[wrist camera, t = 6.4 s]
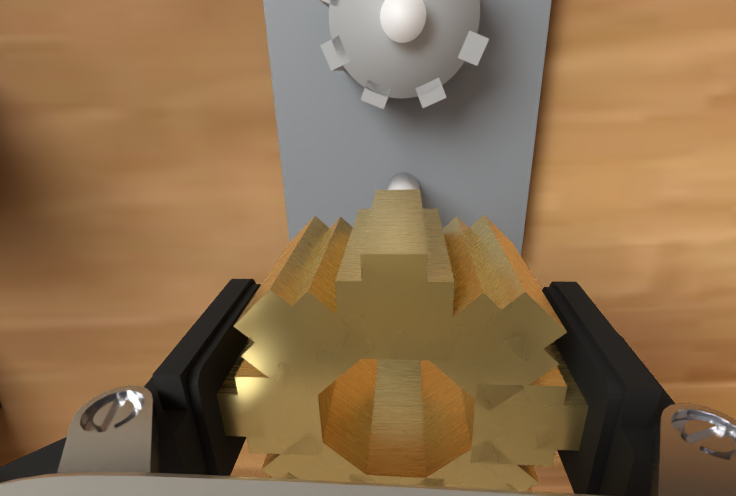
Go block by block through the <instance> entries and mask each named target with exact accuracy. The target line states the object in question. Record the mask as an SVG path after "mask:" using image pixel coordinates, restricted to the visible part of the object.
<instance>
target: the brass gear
mask: <svg viewBox="0 0 736 496" xmlns="http://www.w3.org/2000/svg"><path fill="white" fill-rule="evenodd" d="M234 327H235V328H236V329H238V330H239V331H240V332H242V333H243V334H244V335H246V336H247V337H248V338H249V340H248V341H247V343H246V345H245V347H244V348H243V350H242V352H241V353H240V355H239V357H238V359H237V360H236V362H235V364H234V366H233V367H232V369H231V371H230V372H229V374H228V376H227V378H226V379H225V381H224V383H223V385H222V386H221V388H220V390H219V391H218V393H217V398H218V402H219V407H220V411H221V416H222V421H223V425H224V430H225V434H226V436H240V437H246V438H247V443H248V448H249V453H267V456H266V459H265V461H264V464H263V467H262V470H263V471H264V472H266V473H267V474H269V478H285V479H307V480H327V481H347V482H367V483H387V484H407V485H426V486H445V487H464V488H482V489H500V490H517V491H532V489H531V487H533V486H534V485H536V484H538V483H539V482H538V479H537V476H536V473H535V470H534V467H533V465H534V466H552V465H553V459H554V454H555V450H575V451H579V448H580V443H581V439H582V434H583V430H584V425H585V420H586V416H587V411H588V405H587V403H586V401H585V399H584V397H583V395H582V394H581V392H580V390H579V388H578V386H577V384H576V382H575V381H574V379H573V377H572V375H571V373H570V371H569V369H568V368H567V366H566V364H565V362H564V360H563V358H562V356H561V355H560V353H559V351H558V349H557V347H556V345H555V343H554V341H555V340H557V339H558V338H560V337H561V336H563V335H564V334H565V333H567V331H566V329H565V328H564V326H563V325H562V323H561V321H560V320H559V318H558V316H557V315H556V313H555V311H554V310H553V308H552V306H551V305H550V303H549V302H548V300H547V298H546V297H545V295H544V293H543V292H542V290H541V288H540V287H539V285H538V284H537V282H536V280H535V279H534V277H533V275H532V274H531V272H530V270H529V269H528V267H527V266H526V264H525V262H524V261H523V259H522V257H521V256H520V254H519V252H518V251H517V249H516V247H515V246H514V244H513V243H512V242H511V241H510V240H509V239H508V238H507V237H506V236H505V235H504V234H503V233H502V232H501V231H500V230H499V229H498V228H497V227H496V226H495V225H494V224H493V223H492V222H491V221H490V220H489V219H488V218H487V217H486V216H485V215H483V216H482V217H481V218H480V219H478V220H477V221H476V222H475V223H474V224H473V225H472V226H470V227H468V226H467V225H466V224H465V223H464V222H463V221H462V220H461V219H460V218H459V217H458V216H456V217H455V218H454V219H453V220H452V221H451V222H450V223H449V224H447V225H446V226H445V227H444V228H443V229H442V225H441V220H440V216H439V211H438V208H434V209H422V201H421V192H420V189H406V190H376V192H375V196H374V200H373V204H372V208H371V209H359V210H358V214H357V217H356V220H355V223H354V226H353V227H352V226H351V225H350V224H348V223H347V222H346V221H345V220H344V219H343V218H342V217H340V218H339V219H338V220H337V221H336V222H335V223H334V224H333V225H332V226H331V227H330V228H329V227H328V226H326V225H325V224H324V223H323V222H322V221H321V220H320V219H319V218H317V217H316V216H314V217H313V218H312V219H311V220H310V221H309V222H308V223H307V225H306V226H305V227H304V228H303V229H302V230H301V231H300V232H299V233H298V234H297V235H296V236H295V237H294V238H293V239H292V240H291V241H290V243H289V244H288V245H287V247H286V248H285V250H284V251H283V253H282V254H281V256H280V257H279V259H278V260H277V262H276V263H275V265H274V266H273V268H272V269H271V271H270V272H269V274H268V275H267V277H266V278H265V280H264V281H263V283H262V284H261V286H260V287H259V289H258V290H257V292H256V293H255V295H254V296H253V298H252V299H251V301H250V302H249V304H248V305H247V307H246V308H245V310H244V311H243V313H242V314H241V316H240V317H239V319H238V320H237V322H236V323H235V325H234Z"/></svg>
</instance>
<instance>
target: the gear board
mask: <svg viewBox="0 0 736 496" xmlns="http://www.w3.org/2000/svg"><path fill="white" fill-rule="evenodd" d="M551 1H552V0H263V3H264V12H265V21H266V31H267V40H268V49H269V58H270V67H271V76H272V85H273V94H274V103H275V112H276V121H277V130H278V140H279V149H280V158H281V167H282V176H283V185H284V194H285V203H286V212H287V221H288V230H289V239H290V241H291V240H292V239H293V238H294V237H295V236H296V235H297V234H298V233H299V232H300V231H301V230H302V229H303V228H304V227H305V226H306V225H307V223H308V222H309V221H310V220H311V219H312V218H313V217H314V216H316V217H317V218H319V219H320V220H321V221H322V222H323V223H324V224H325V225H326V226H328V227H329V228H330V227H331V226H332V225H333V224H334V223H335V222H336V221H337V220H338V219H339V218H340V217H342V218H343V219H344V220H345V221H346V222H347V223H348V224H350V225H351V226H352V227H353V226H354V223H355V220H356V217H357V214H358V210H359V209H371V208H372V204H373V200H374V196H375V192H376V190H406V189H420V192H421V201H422V209H434V208H438V211H439V216H440V220H441V225H442V229H443V228H444V227H445V226H446V225H447V224H449V223H450V222H451V221H452V220H453V219H454V218H455V217H456V216H458V217H459V218H460V219H461V220H462V221H463V222H464V223H465V224H466V225H467V226H468V227H470V226H472V225H473V224H474V223H475V222H476V221H477V220H478V219H480V218H481V217H482V216H483V215H485V216H486V217H487V218H488V219H489V220H490V221H491V222H492V223H493V224H494V225H495V226H496V227H497V228H498V229H499V230H500V231H501V232H502V233H503V234H504V235H505V236H506V237H507V238H508V239H509V240H510V241H511V242H512V243H513V244H514V246H515V247H516V249H517V251H518V252H519V254H520V256H521V252H522V243H523V235H524V226H525V218H526V210H527V201H528V193H529V185H530V176H531V168H532V160H533V151H534V143H535V135H536V126H537V118H538V109H539V101H540V93H541V84H542V76H543V68H544V59H545V51H546V43H547V34H548V26H549V18H550V9H551Z"/></svg>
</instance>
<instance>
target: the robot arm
mask: <svg viewBox="0 0 736 496" xmlns="http://www.w3.org/2000/svg"><path fill="white" fill-rule="evenodd" d="M260 286H261V285H260V284H256V283H255V281H254V280H253V279H232V280H230V281H229V283H228V284H227V285H226V286H225V287H224V289H223V290H222V291H221V292H220V294H219V295H218V296H217V297H216V298H215V300H214V301H213V302H212V303H211V304H210V306H209V307H208V308H207V309H206V310H205V312H204V313H203V314H202V315H201V317H200V318H199V319H198V320H197V321H196V323H195V324H194V325H193V326H192V327H191V329H190V330H189V331H188V332H187V334H186V335H185V336H184V337H183V338H182V340H181V341H180V342H179V343H178V344H177V346H176V347H175V348H174V349H173V350H172V352H171V353H170V354H169V355H168V357H167V358H166V359H165V360H164V361H163V363H162V364H161V365H160V366H159V367H158V369H157V370H156V371H155V372H154V373H153V377H152V378H151V379H150V380H149V382H148V383H147V384H146V385H145V386H144V387H141V386H123V387H118V388H114V389H112V390H109V391H106V392H104V393H102V394H100V395H98V396H96V397H94V398H92V399H91V400H90V401H88V402H87V403H86V404H84V405H83V406H82V407H81V408H80V409H79V410H78V411H77V412H76V414H75V415H74V417H73V419H72V421H71V424H70V427H69V431H68V435H67V437H66V438H63V439H61V440H59V441H57V442H55V443H52V444H50V445H48V446H46V447H44V448H41V449H39V450H37V451H35V452H33V453H30V454H28V455H26V456H24V457H22V458H19V459H17V460H15V461H13V462H11V463H8V464H6V465H4V466H2V467H0V496H736V420H735V419H733V418H731V417H729V416H727V415H725V414H724V413H721V412H719V411H716V410H714V409H711V408H708V407H705V406H700V405H696V404H686V403H679V404H675V403H674V401H673V400H672V399H671V398H670V396H669V395H668V394H667V393H666V391H665V390H664V389H663V388H662V386H661V385H660V384H659V383H658V381H657V380H656V379H655V378H654V377H653V375H652V374H651V373H650V372H649V370H648V369H647V368H646V367H645V365H644V364H643V363H642V362H641V360H640V359H639V358H638V357H637V355H636V354H635V353H634V352H633V350H632V349H631V348H630V347H629V345H628V344H627V343H626V342H625V340H624V339H623V338H622V337H621V336H620V335H619V334H618V333H617V332H616V331H615V329H614V328H613V327H612V326H611V324H610V323H609V322H608V321H607V319H606V318H605V317H604V316H603V314H602V313H601V312H600V311H599V309H598V308H597V307H596V306H595V304H594V303H593V302H592V301H591V299H590V298H589V297H588V295H587V294H586V293H585V292H584V290H583V289H582V288H581V287H580V285H579V284H578V283H577V282H552V283H551V284H550V286H549V287H544V288H543V290H542V292H543V293H544V295H545V297H546V298H547V300H548V302H549V303H550V305H551V306H552V308H553V310H554V311H555V313H556V315H557V316H558V318H559V320H560V321H561V323H562V325H563V326H564V328H565V329H566V331H567V333H565V334H564V335H563V336H561V337H560V338H558V339H557V340H555V341H554V343H555V345H556V347H557V349H558V351H559V353H560V355H561V356H562V358H563V360H564V362H565V364H566V366H567V368H568V369H569V371H570V373H571V375H572V377H573V379H574V381H575V382H576V384H577V386H578V388H579V390H580V392H581V394H582V395H583V397H584V399H585V401H586V403H587V405H588V411H587V416H586V420H585V425H584V430H583V434H582V439H581V443H580V448H579V451H575V450H558V453H559V455H560V458H561V461H562V463H563V466H564V468H565V471H566V473H567V476H568V478H569V481H570V483H571V486H572V488H573V491H574V493H575V494H570V493H552V492H535V491H517V490H500V489H482V488H464V487H445V486H426V485H407V484H387V483H367V482H347V481H327V480H307V479H285V478H262V477H240V476H230V474H231V472H232V470H233V467H234V465H235V463H236V460H237V458H238V456H239V453H240V451H241V449H242V447H243V444H244V442H245V440H246V437H240V436H226V434H225V430H224V425H223V421H222V416H221V411H220V407H219V402H218V398H217V393H218V391H219V390H220V388H221V386H222V385H223V383H224V381H225V379H226V378H227V376H228V374H229V372H230V371H231V369H232V367H233V366H234V364H235V362H236V360H237V359H238V357H239V355H240V353H241V352H242V350H243V348H244V347H245V345H246V343H247V341H248V340H249V338H248V337H247V336H246V335H244V334H243V333H242V332H240V331H239V330H238V329H236V328H235V327H234V325H235V323H236V322H237V320H238V319H239V317H240V316H241V314H242V313H243V311H244V310H245V308H246V307H247V305H248V304H249V302H250V301H251V299H252V298H253V296H254V295H255V293H256V292H257V290H258V289H259V287H260Z"/></svg>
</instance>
